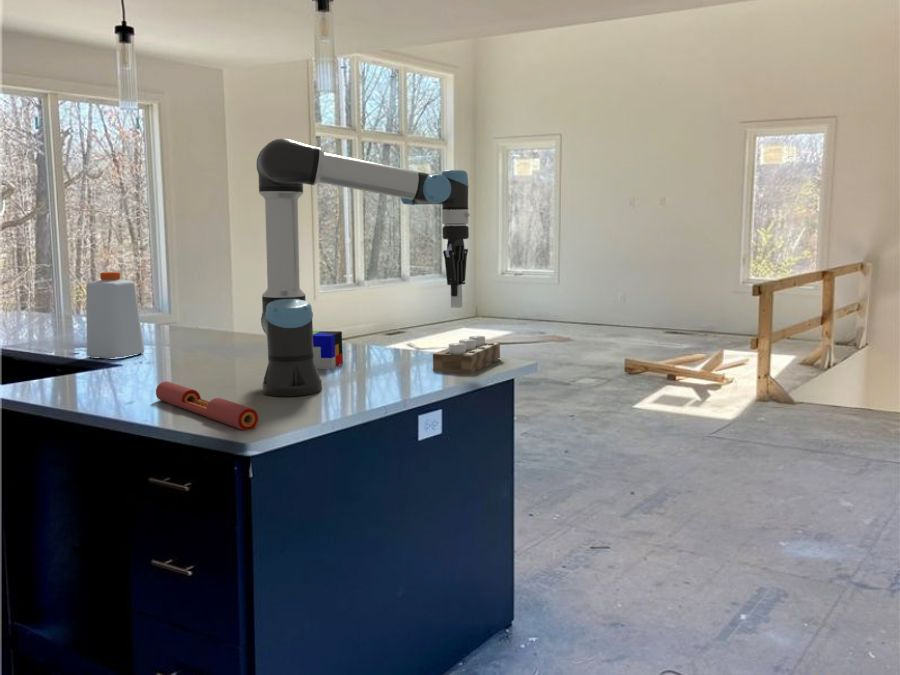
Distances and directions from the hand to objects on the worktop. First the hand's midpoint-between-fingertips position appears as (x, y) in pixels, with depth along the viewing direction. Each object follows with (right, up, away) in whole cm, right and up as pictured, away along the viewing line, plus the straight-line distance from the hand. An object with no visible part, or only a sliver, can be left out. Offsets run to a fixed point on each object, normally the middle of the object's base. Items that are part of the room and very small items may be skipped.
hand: (456, 307), depth 237 cm
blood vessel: (-59, -27, -48) cm, 80 cm away
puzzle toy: (-41, -18, +13) cm, 47 cm away
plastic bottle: (-114, -15, +36) cm, 120 cm away
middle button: (+3, -14, +9) cm, 17 cm away
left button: (0, -15, +2) cm, 15 cm away
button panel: (+3, -17, +10) cm, 20 cm away
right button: (+7, -13, +17) cm, 22 cm away
